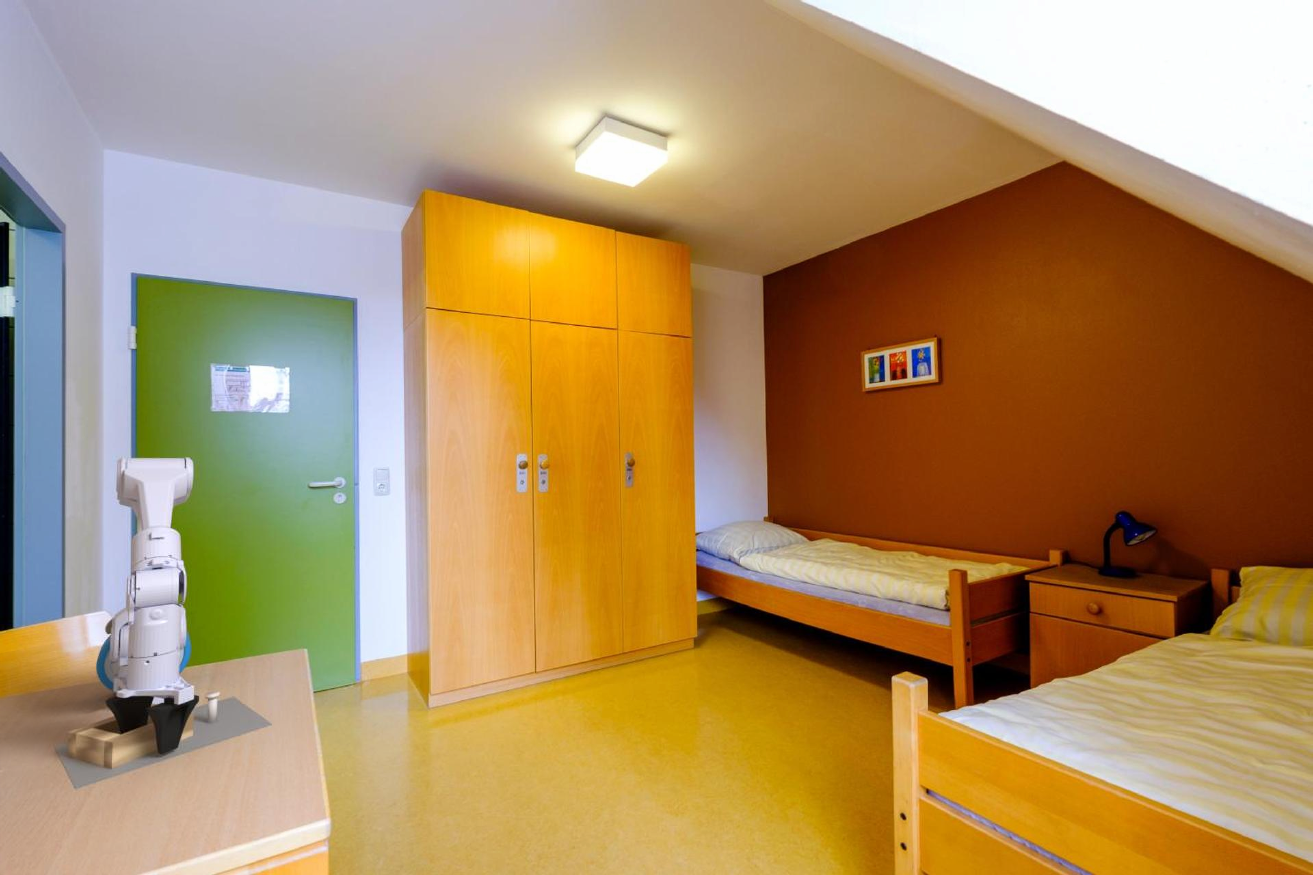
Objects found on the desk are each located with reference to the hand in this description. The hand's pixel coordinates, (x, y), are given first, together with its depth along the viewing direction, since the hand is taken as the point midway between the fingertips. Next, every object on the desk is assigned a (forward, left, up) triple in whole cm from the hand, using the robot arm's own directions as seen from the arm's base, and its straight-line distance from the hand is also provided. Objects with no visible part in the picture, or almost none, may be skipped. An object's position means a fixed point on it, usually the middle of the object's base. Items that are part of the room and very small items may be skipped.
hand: (151, 746), depth 81 cm
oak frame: (-4, -1, 0) cm, 4 cm away
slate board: (-4, +3, -2) cm, 5 cm away
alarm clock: (-34, +6, -2) cm, 34 cm away
